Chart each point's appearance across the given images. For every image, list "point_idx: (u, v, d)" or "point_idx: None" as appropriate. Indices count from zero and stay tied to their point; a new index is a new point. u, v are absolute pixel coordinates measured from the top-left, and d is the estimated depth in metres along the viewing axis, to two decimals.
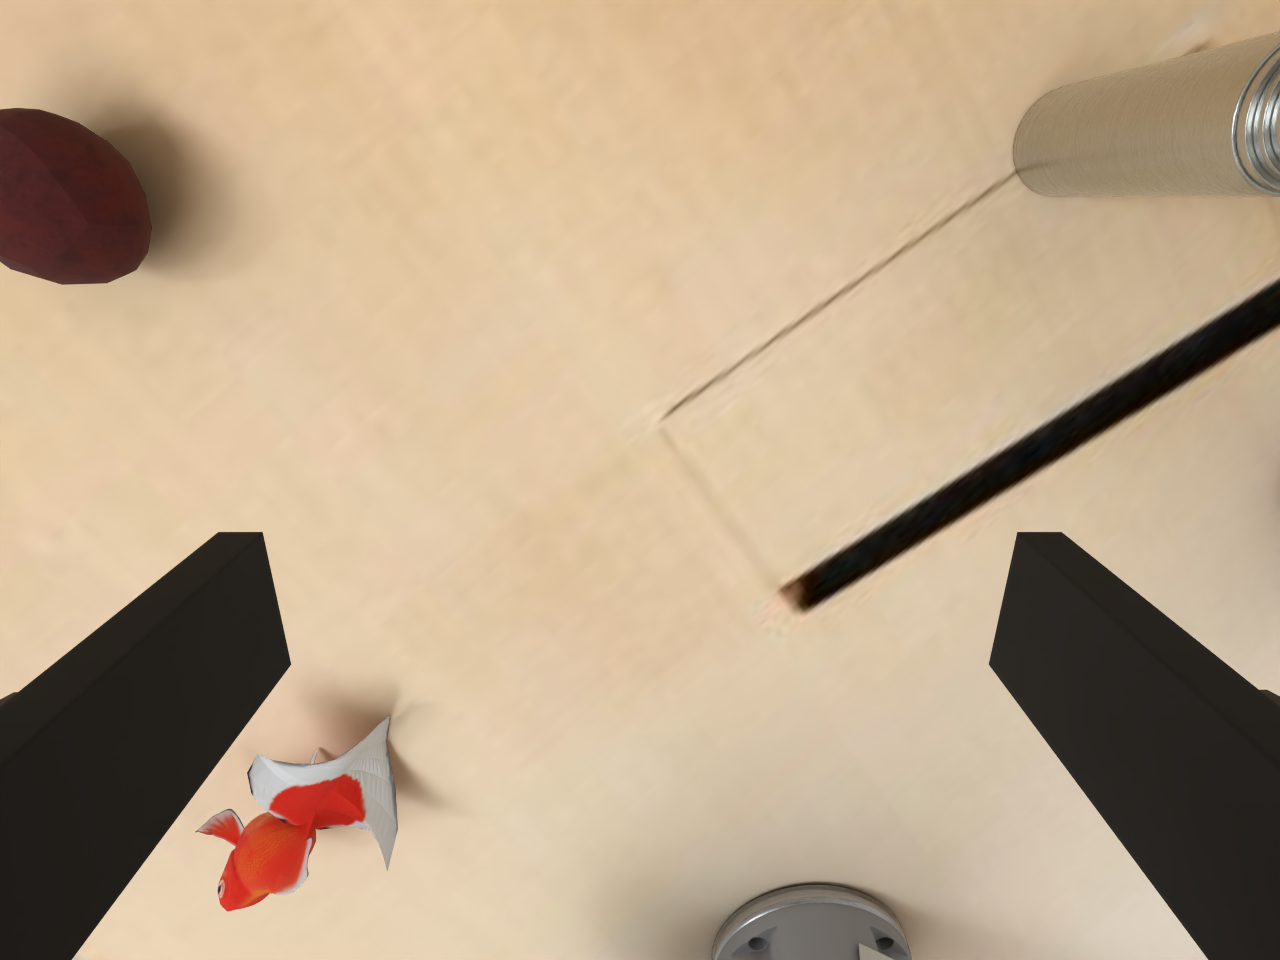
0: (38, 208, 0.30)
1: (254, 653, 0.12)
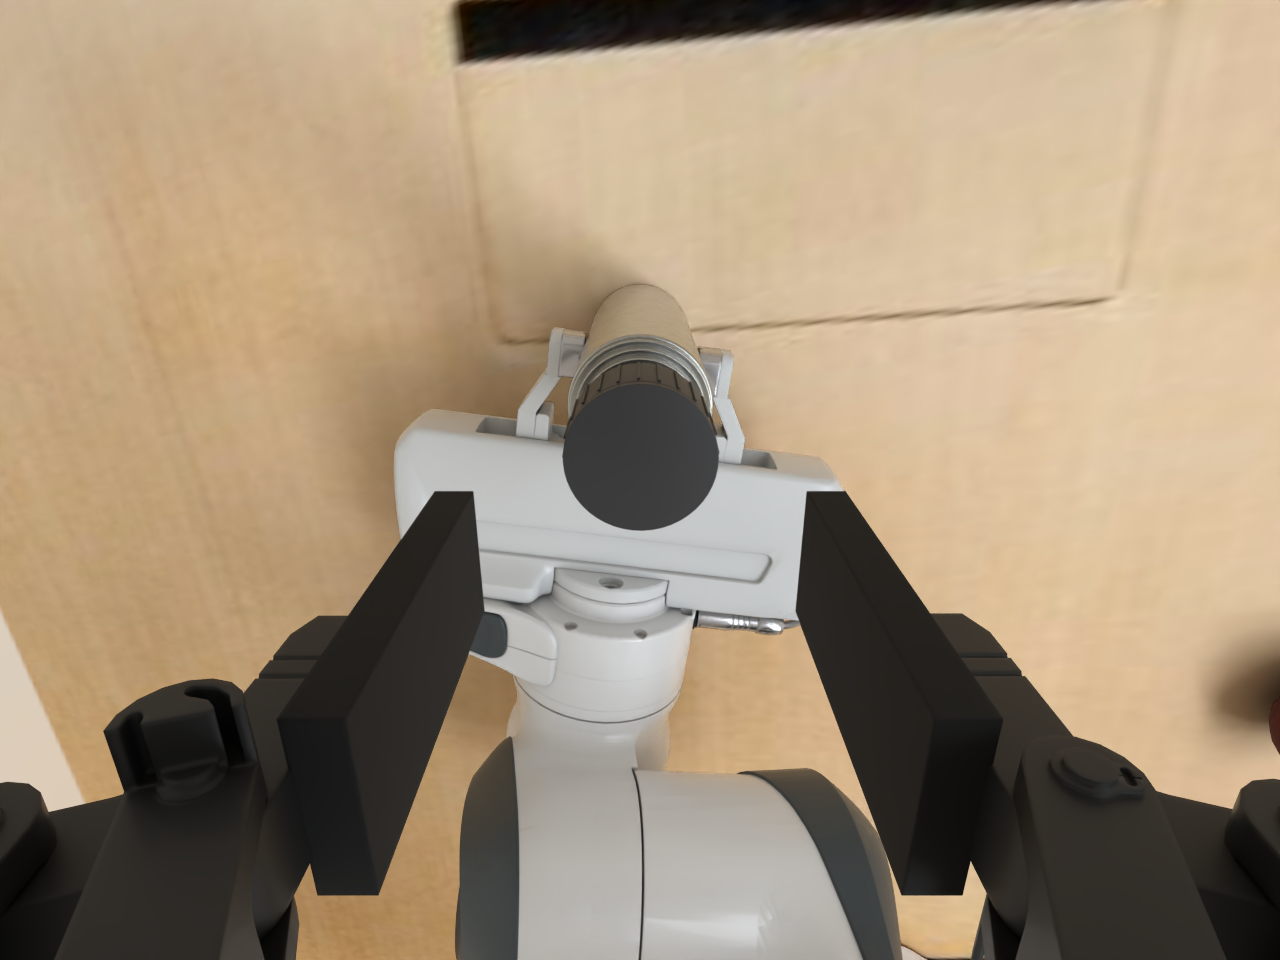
0: None
1: (470, 596, 0.14)
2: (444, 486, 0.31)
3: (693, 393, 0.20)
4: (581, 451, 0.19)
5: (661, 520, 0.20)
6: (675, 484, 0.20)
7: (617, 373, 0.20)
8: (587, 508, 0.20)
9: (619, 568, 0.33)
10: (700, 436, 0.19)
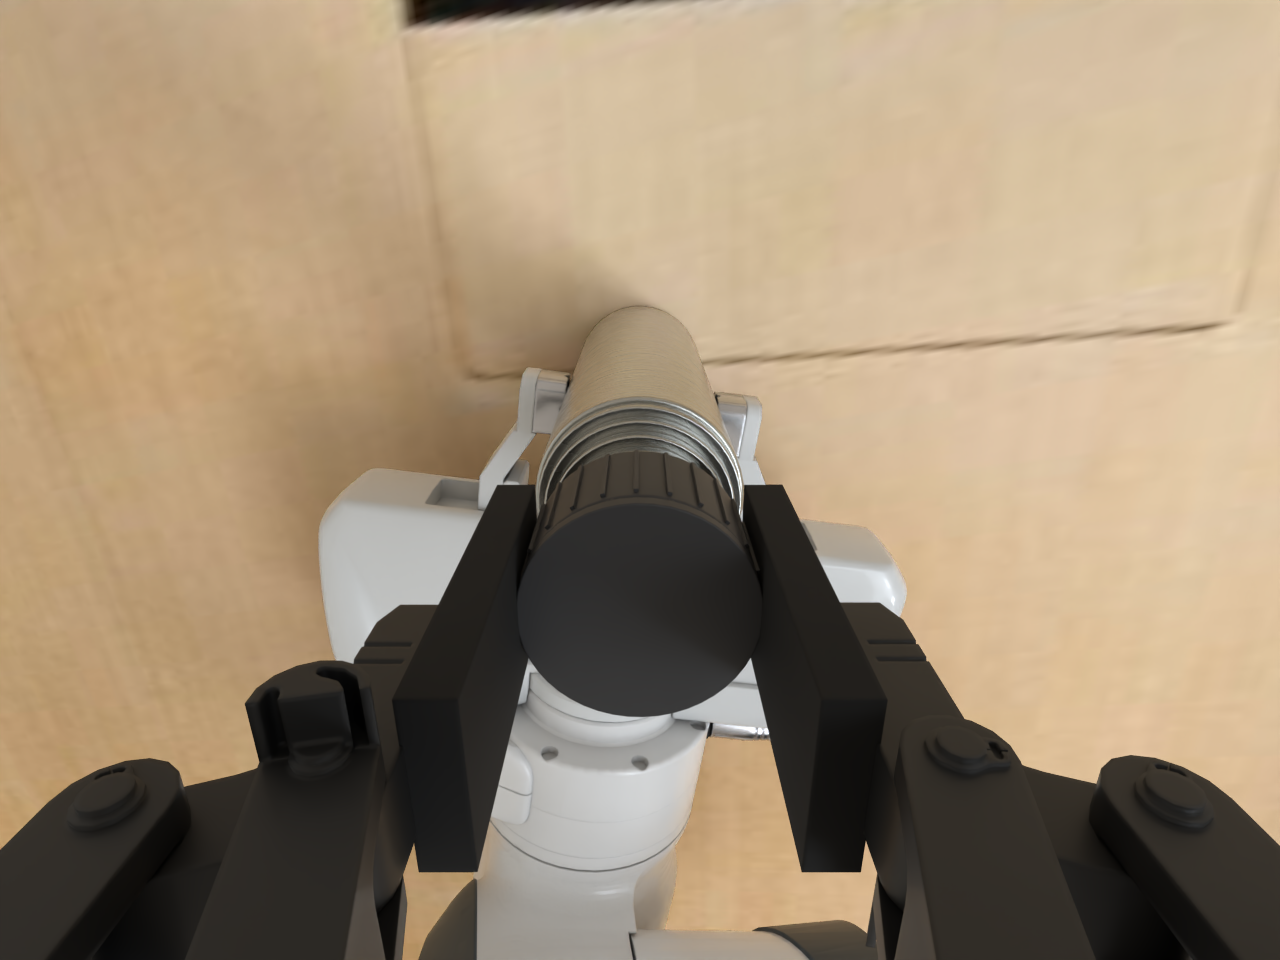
0: None
1: None
2: (385, 573, 0.24)
3: (722, 507, 0.13)
4: (545, 604, 0.12)
5: (672, 703, 0.13)
6: (694, 652, 0.12)
7: (603, 474, 0.13)
8: (556, 686, 0.13)
9: None
10: (735, 582, 0.12)
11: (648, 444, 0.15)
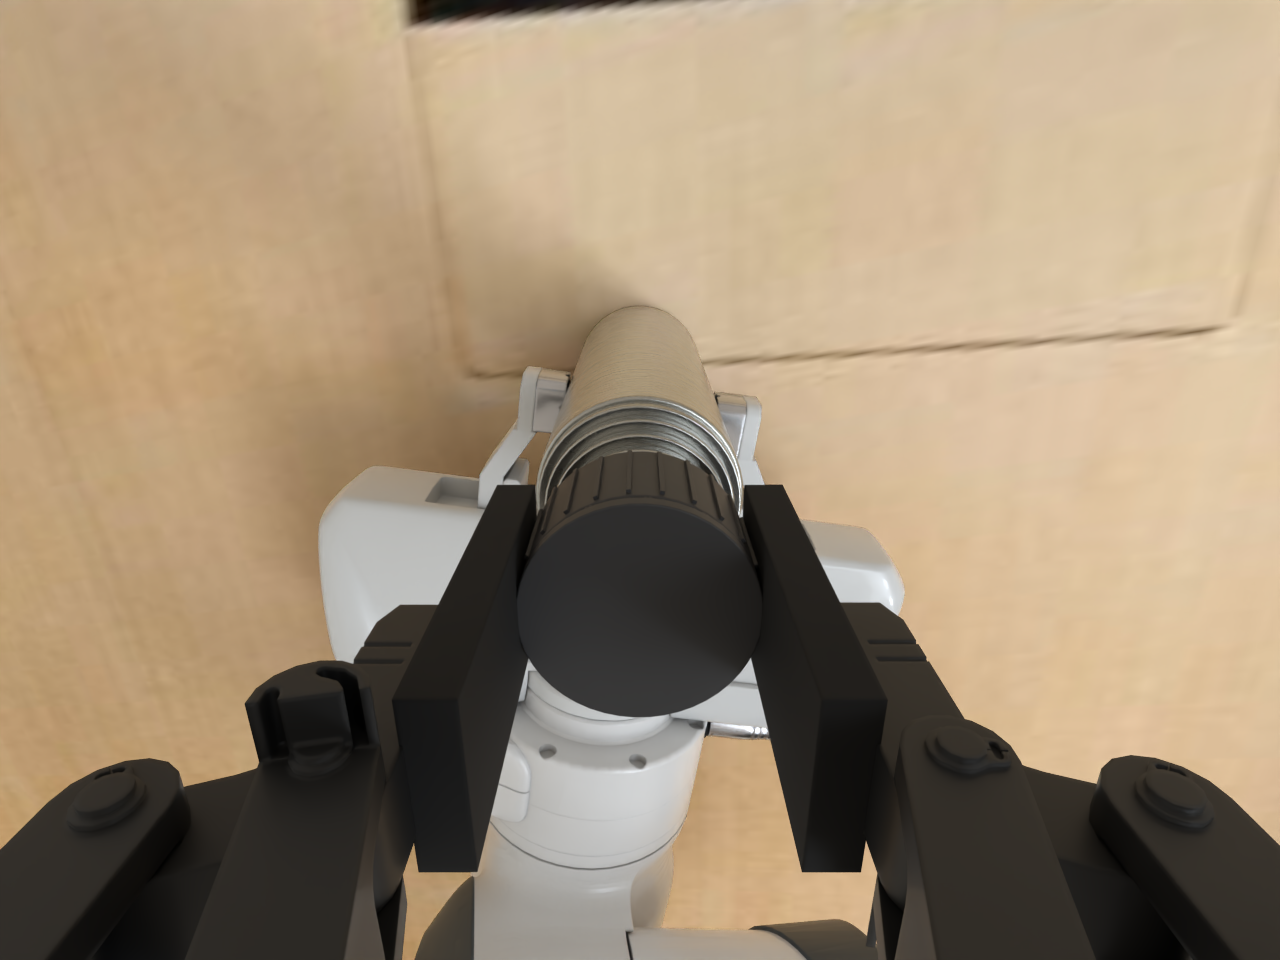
0: None
1: None
2: (385, 570, 0.24)
3: (544, 518, 0.13)
4: (629, 695, 0.13)
5: (744, 583, 0.12)
6: (678, 566, 0.12)
7: None
8: (723, 685, 0.13)
9: None
10: (591, 535, 0.12)
11: (649, 443, 0.15)
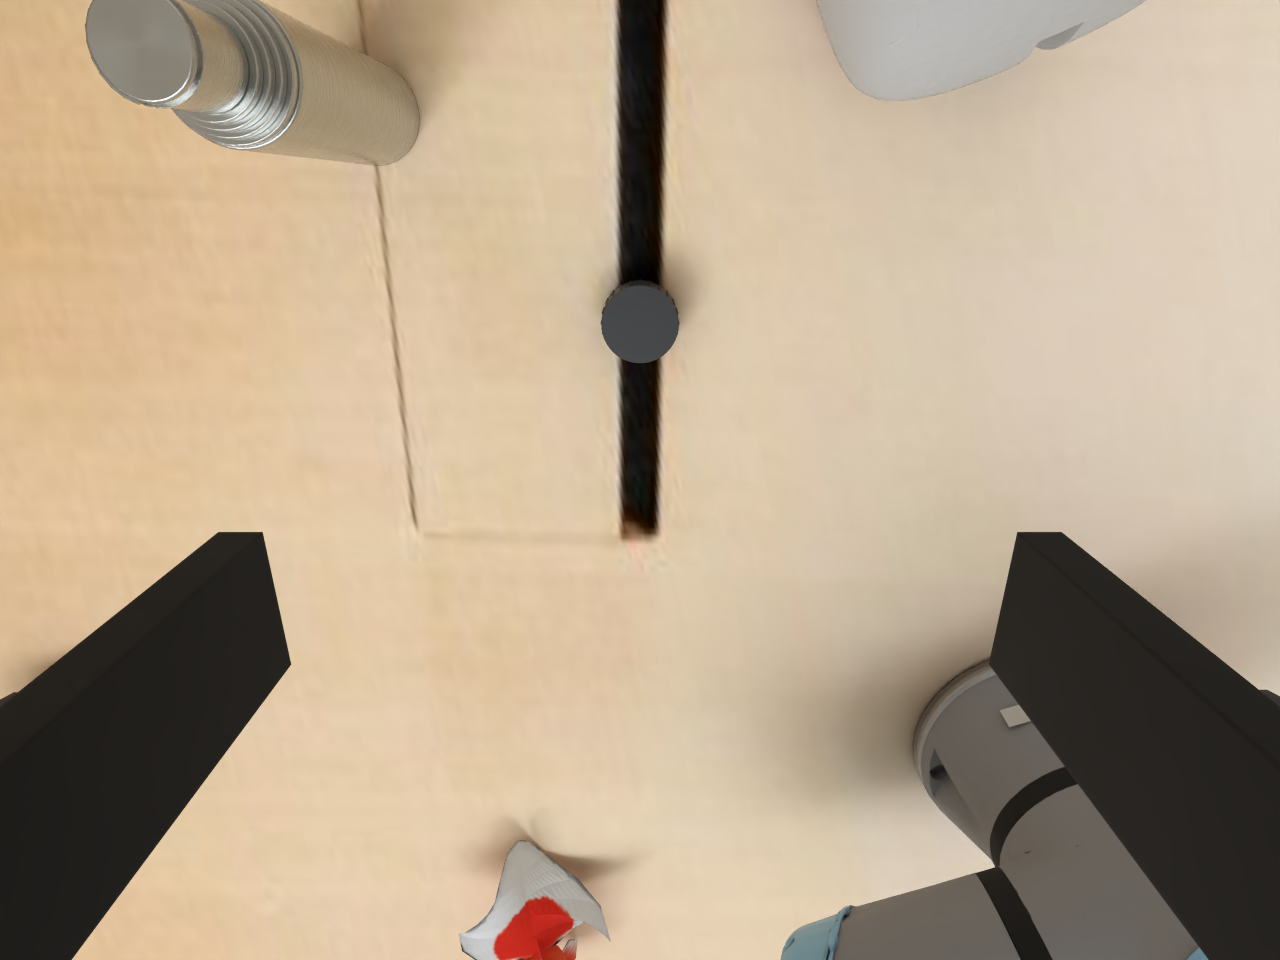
0: None
1: (254, 653, 0.12)
2: None
3: (659, 287, 0.40)
4: (610, 326, 0.39)
5: (657, 354, 0.40)
6: (659, 333, 0.39)
7: (620, 286, 0.40)
8: (619, 355, 0.40)
9: None
10: (665, 305, 0.39)
11: (264, 77, 0.24)
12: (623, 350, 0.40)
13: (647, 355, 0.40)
